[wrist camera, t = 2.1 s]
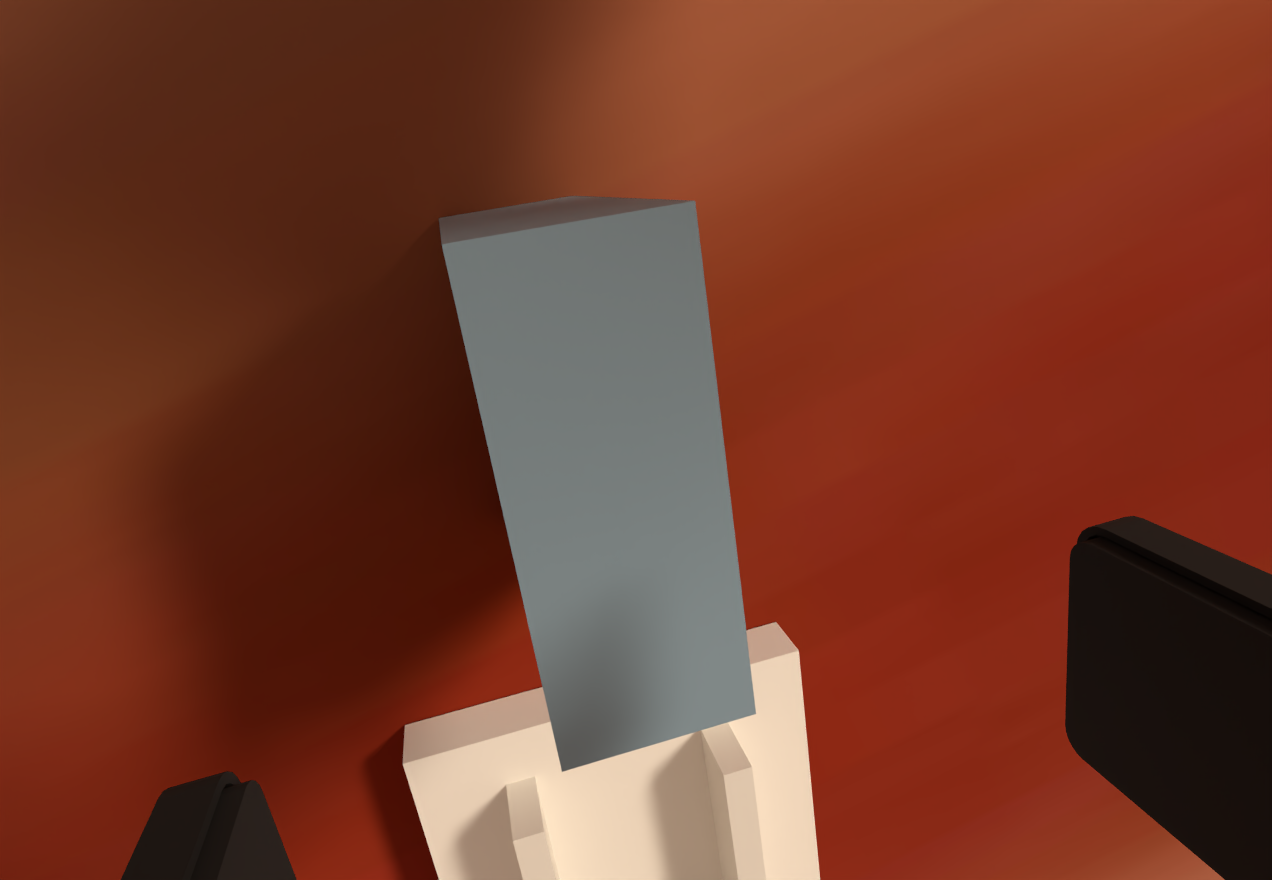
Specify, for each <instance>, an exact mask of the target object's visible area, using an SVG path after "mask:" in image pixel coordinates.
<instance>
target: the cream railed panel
mask: <svg viewBox="0 0 1272 880" xmlns="http://www.w3.org/2000/svg"><path fill="white" fill-rule="evenodd" d="M746 633H747V642H748V650H749V659H750V667H751V675H752V684H753V692H754V701H755V709H756V714H754V715H751V716H747V717H744V718H741V719H737V720H734V721H731V722H727V723H724V724H721V725H717V726H714V727H711V728H707V729H704V730H701V731H697V732H694V733H691V734H687V735H684V736H681V737H677V738H674V739H671V740H667V741H664V742H660V743H657V744H654V745H650V746H647V747H644V748H640V749H637V750H634V751H630V752H627V753H624V754H620V755H617V756H614V757H610V758H607V759H604V760H600V761H597V762H594V763H590V764H587V765H583V766H580V767H577V768H573V769H570V770H567V771H563V772H562V770H561V765H560V761H559V757H558V752H557V748H556V743H555V739H554V735H553V730H552V726H551V722H550V717H549V713H548V708H547V704H546V700H545V695H544V691H543V687H541V688H537V689H533V690H530V691H526V692H523V693H519V694H515V695H512V696H508V697H505V698H501V699H497V700H494V701H490V702H487V703H483V704H479V705H476V706H472V707H469V708H465V709H461V710H458V711H454V712H451V713H447V714H443V715H440V716H436V717H433V718H429V719H425V720H422V721H418V722H415V723H411V724H407V725H405V732H404V749H403V767H404V770H405V773H406V776H407V779H408V783H409V786H410V789H411V792H412V795H413V799H414V802H415V805H416V808H417V811H418V815H419V818H420V821H421V824H422V827H423V830H424V834H425V837H426V840H427V843H428V846H429V850H430V853H431V856H432V859H433V862H434V866H435V869H436V872H437V875H438V878H439V880H820V874H819V863H818V853H817V842H816V831H815V821H814V810H813V799H812V788H811V778H810V767H809V756H808V746H807V735H806V724H805V714H804V703H803V692H802V682H801V671H800V660H799V650H798V649H797V648H796V647H795V645H794V644H793V643H792V642H791V640H790V639H789V638H788V637H787V635H786V634H785V633H784V631H783V630H782V629H781V628H780V626H779V625H778V624H777V623H776V622H775V623H771V624H767V625H764V626H760V627H757V628H753V629H749V630H746Z"/></svg>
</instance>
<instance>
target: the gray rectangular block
mask: <svg viewBox="0 0 1272 880" xmlns="http://www.w3.org/2000/svg"><path fill="white" fill-rule="evenodd" d="M439 226H440V235H441V244H442V248H443V253H444V257H445V262H446V266H447V270H448V275H449V279H450V284H451V288H452V292H453V297H454V301H455V305H456V310H457V314H458V319H459V323H460V327H461V332H462V336H463V340H464V345H465V349H466V354H467V358H468V362H469V367H470V371H471V375H472V380H473V384H474V389H475V393H476V397H477V402H478V406H479V411H480V415H481V419H482V424H483V428H484V432H485V437H486V441H487V446H488V450H489V454H490V459H491V463H492V467H493V472H494V476H495V481H496V485H497V489H498V494H499V498H500V503H501V507H502V511H503V516H504V520H505V524H506V529H507V533H508V538H509V542H510V546H511V551H512V555H513V559H514V564H515V568H516V573H517V577H518V581H519V586H520V590H521V594H522V599H523V603H524V608H525V612H526V616H527V621H528V625H529V630H530V634H531V638H532V643H533V647H534V651H535V656H536V660H537V665H538V669H539V673H540V678H541V682H542V686H543V691H544V695H545V700H546V704H547V708H548V713H549V717H550V722H551V726H552V730H553V735H554V739H555V743H556V748H557V752H558V757H559V761H560V765H561V770H562V772H563V771H567V770H570V769H573V768H577V767H580V766H583V765H587V764H590V763H594V762H597V761H600V760H604V759H607V758H610V757H614V756H617V755H620V754H624V753H627V752H630V751H634V750H637V749H640V748H644V747H647V746H650V745H654V744H657V743H660V742H664V741H667V740H671V739H674V738H677V737H681V736H684V735H687V734H691V733H694V732H697V731H701V730H704V729H707V728H711V727H714V726H717V725H721V724H724V723H727V722H731V721H734V720H737V719H741V718H744V717H747V716H751V715H754V714H756V709H755V701H754V692H753V684H752V675H751V667H750V659H749V650H748V642H747V633H746V625H745V617H744V608H743V600H742V591H741V583H740V575H739V566H738V558H737V549H736V541H735V533H734V524H733V516H732V507H731V499H730V491H729V482H728V474H727V465H726V457H725V449H724V440H723V432H722V423H721V415H720V407H719V398H718V390H717V381H716V373H715V365H714V356H713V348H712V339H711V331H710V323H709V314H708V306H707V297H706V289H705V281H704V272H703V264H702V255H701V247H700V239H699V230H698V222H697V213H696V205H695V201H687V200H662V199H637V198H612V197H588V196H569V197H563V198H557V199H551V200H545V201H539V202H533V203H526V204H520V205H514V206H508V207H502V208H496V209H490V210H484V211H478V212H472V213H466V214H460V215H454V216H448V217H442V218H439Z"/></svg>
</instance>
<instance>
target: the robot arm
mask: <svg viewBox="0 0 1272 880" xmlns="http://www.w3.org/2000/svg"><path fill="white" fill-rule="evenodd" d="M1065 726H1066V733H1067V736H1068V739H1069V741H1070V743H1071V745H1072V747H1073V748H1074V750H1075V751H1076V752H1077V754H1078V755H1079V756H1080V757H1081V758H1082V759H1083V760H1084V761H1085V762H1087V763H1088V764H1089V765H1090V766H1091V767H1093V768H1094V769H1095V770H1096V771H1097V772H1098V773H1100V774H1101V775H1102V776H1103V777H1104V778H1106V779H1107V780H1108V781H1109V782H1110V783H1111V784H1113V785H1114V786H1115V787H1116V788H1117V789H1119V790H1120V791H1121V792H1122V793H1123V794H1124V795H1126V796H1127V797H1128V798H1129V799H1130V800H1132V801H1133V802H1134V803H1135V804H1136V805H1137V806H1139V807H1140V808H1141V809H1142V810H1143V811H1145V812H1146V813H1147V814H1148V815H1149V816H1150V817H1152V818H1153V819H1154V820H1155V821H1156V822H1158V823H1159V824H1160V825H1161V826H1162V827H1163V828H1165V829H1166V830H1167V831H1168V832H1169V833H1171V834H1172V835H1173V836H1174V837H1175V838H1176V839H1178V840H1179V841H1180V842H1181V843H1182V844H1184V845H1185V846H1186V847H1187V848H1188V849H1190V850H1191V851H1192V852H1193V853H1194V854H1195V855H1197V856H1198V857H1199V858H1200V859H1201V860H1203V861H1204V862H1205V863H1206V864H1207V865H1208V866H1210V867H1211V868H1212V869H1213V870H1214V871H1216V872H1217V873H1218V874H1219V875H1220V876H1221V877H1223V878H1224V879H1225V880H1272V575H1271V574H1269V573H1266V572H1264V571H1262V570H1260V569H1257V568H1255V567H1253V566H1250V565H1248V564H1246V563H1244V562H1241V561H1239V560H1237V559H1234V558H1232V557H1230V556H1228V555H1225V554H1223V553H1221V552H1218V551H1216V550H1214V549H1211V548H1209V547H1207V546H1205V545H1202V544H1200V543H1198V542H1195V541H1193V540H1191V539H1189V538H1186V537H1184V536H1182V535H1179V534H1177V533H1175V532H1173V531H1170V530H1168V529H1166V528H1163V527H1161V526H1159V525H1157V524H1154V523H1152V522H1150V521H1147V520H1145V519H1143V518H1139V517H1135V516H1130V517H1123V518H1120V519H1116V520H1113V521H1109V522H1106V523H1102V524H1099V525H1095V526H1092V527H1088V528H1087V529H1085V530H1084V531H1082V532H1081V534H1080V536H1079V537H1078V541H1077V544H1076V545H1075V546H1074V547H1073V549H1072V550H1071V554H1070V574H1069V610H1068V647H1067V683H1066V719H1065ZM121 880H296V877H295V874H294V872H293V869H292V867H291V864H290V861H289V859H288V856H287V854H286V851H285V848H284V846H283V843H282V841H281V838H280V835H279V833H278V830H277V828H276V825H275V822H274V820H273V817H272V815H271V812H270V809H269V807H268V804H267V802H266V799H265V796H264V794H263V791H262V789H261V787H260V785H259V784H258V783H257V782H256V781H254V780H251V781H247V782H244V783H240V781H239V779H238V778H237V776H236V775H235V774H234V773H233V772H228V771H227V772H223V773H220V774H216V775H213V776H209V777H205V778H202V779H198V780H195V781H191V782H188V783H184V784H181V785H177V786H174V787H170V788H168V789H166V790H165V791H163V792H162V794H161V795H160V797H159V798H158V800H157V802H156V804H155V807H154V809H153V811H152V813H151V815H150V817H149V820H148V822H147V824H146V826H145V828H144V830H143V833H142V835H141V837H140V839H139V841H138V844H137V846H136V848H135V850H134V852H133V854H132V857H131V859H130V861H129V863H128V865H127V867H126V870H125V872H124V874H123V876H122V878H121Z"/></svg>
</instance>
